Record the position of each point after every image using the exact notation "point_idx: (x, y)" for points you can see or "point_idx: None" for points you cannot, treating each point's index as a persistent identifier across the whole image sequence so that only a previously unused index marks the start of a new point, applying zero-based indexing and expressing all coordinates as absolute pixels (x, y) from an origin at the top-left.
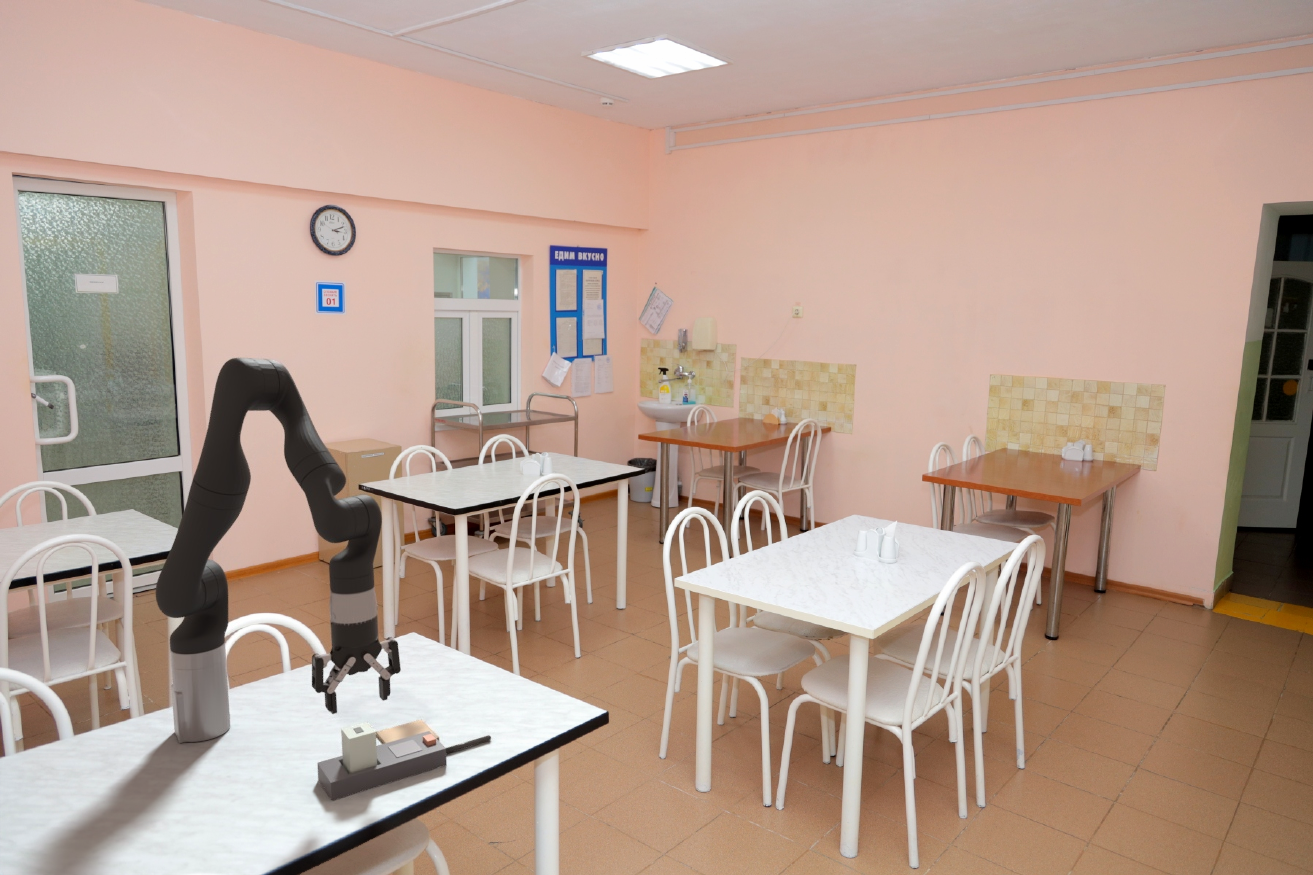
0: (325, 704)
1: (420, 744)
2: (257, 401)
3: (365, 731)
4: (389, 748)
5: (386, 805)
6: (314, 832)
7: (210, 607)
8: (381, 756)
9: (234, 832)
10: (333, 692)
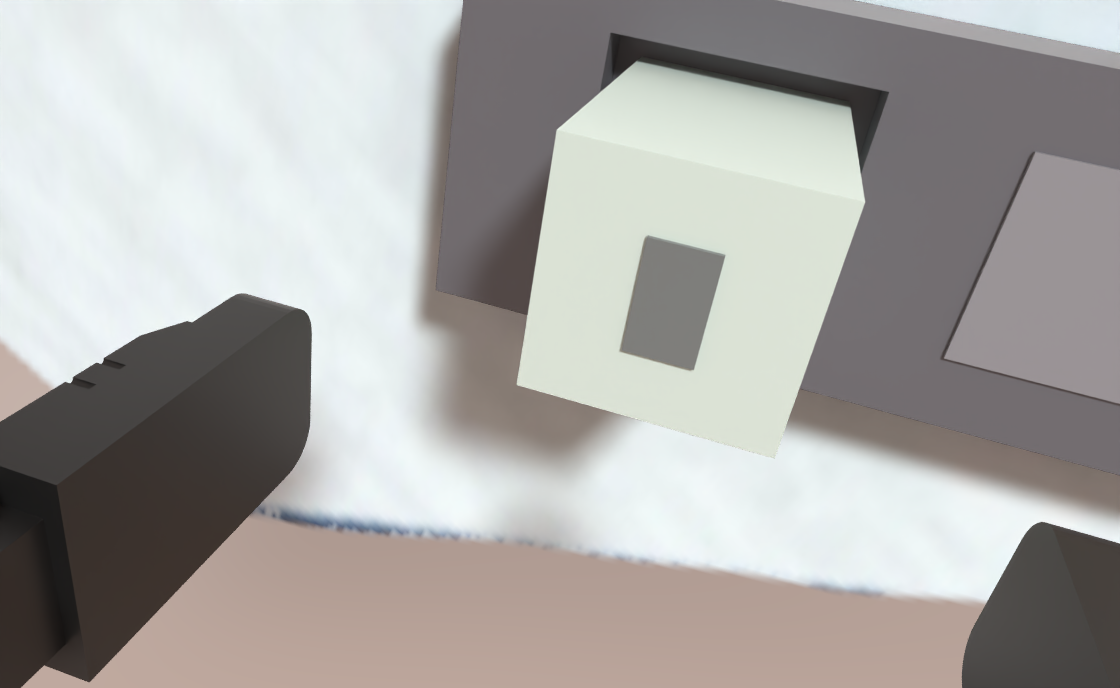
0: (120, 361)
1: None
2: None
3: (708, 375)
4: (1017, 191)
5: (668, 495)
6: (323, 416)
7: None
8: (880, 247)
9: (32, 138)
10: (52, 641)
